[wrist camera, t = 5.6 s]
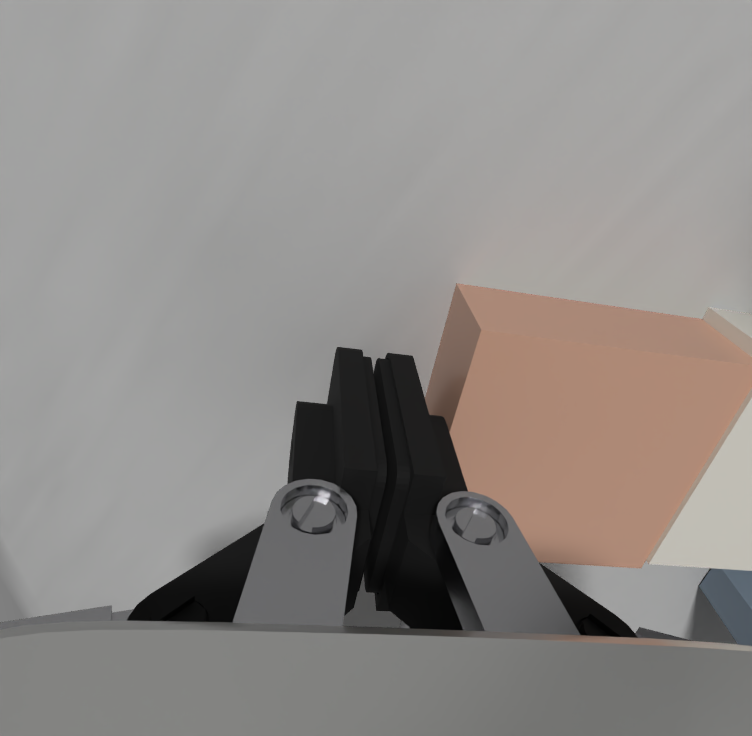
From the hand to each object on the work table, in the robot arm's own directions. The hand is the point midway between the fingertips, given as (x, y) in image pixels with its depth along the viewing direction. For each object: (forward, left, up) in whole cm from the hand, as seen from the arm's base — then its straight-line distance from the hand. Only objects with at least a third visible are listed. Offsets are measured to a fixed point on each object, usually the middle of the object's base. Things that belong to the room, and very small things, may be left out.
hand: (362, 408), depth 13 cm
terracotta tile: (0, +5, -1) cm, 5 cm away
